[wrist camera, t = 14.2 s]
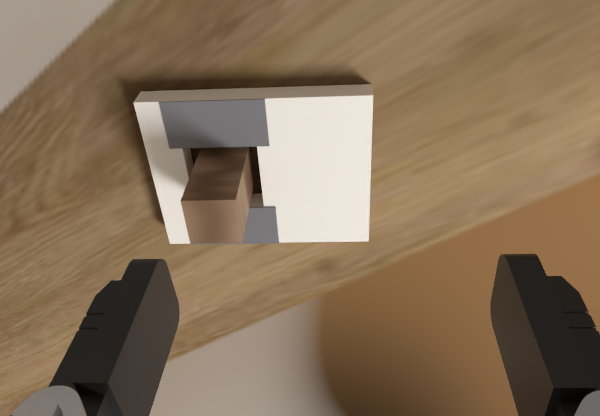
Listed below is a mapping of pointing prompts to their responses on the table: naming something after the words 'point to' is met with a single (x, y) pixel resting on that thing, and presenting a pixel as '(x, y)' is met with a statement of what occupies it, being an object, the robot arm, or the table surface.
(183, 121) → the subfloor panel
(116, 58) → the table surface
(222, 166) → the brown wooden block
